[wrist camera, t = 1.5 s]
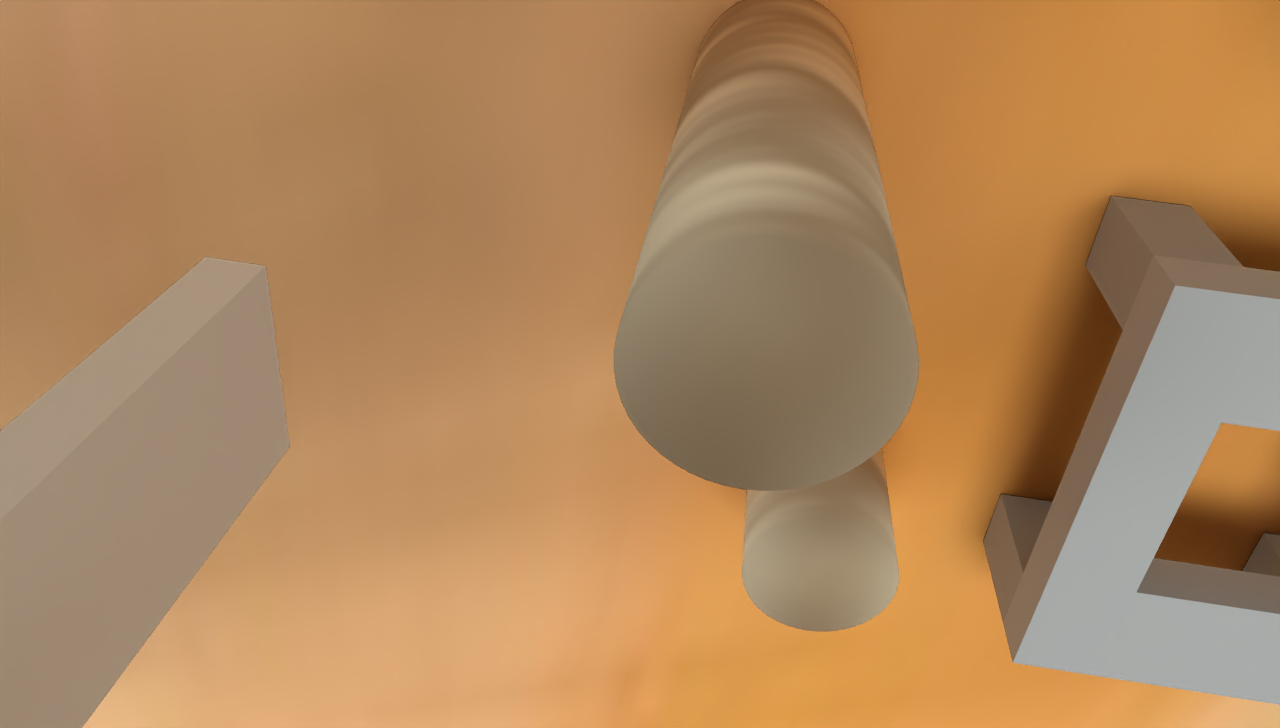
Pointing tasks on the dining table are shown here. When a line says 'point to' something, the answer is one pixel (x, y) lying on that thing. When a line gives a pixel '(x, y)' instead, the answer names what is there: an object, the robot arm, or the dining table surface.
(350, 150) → the dining table surface
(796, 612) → the short dowel
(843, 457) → the long dowel
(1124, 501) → the square frame with posts
